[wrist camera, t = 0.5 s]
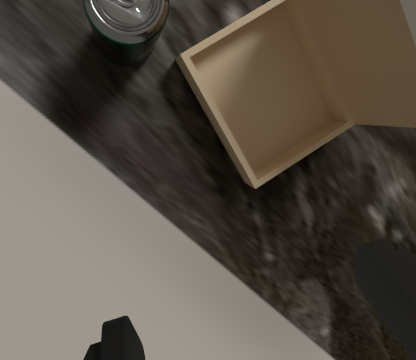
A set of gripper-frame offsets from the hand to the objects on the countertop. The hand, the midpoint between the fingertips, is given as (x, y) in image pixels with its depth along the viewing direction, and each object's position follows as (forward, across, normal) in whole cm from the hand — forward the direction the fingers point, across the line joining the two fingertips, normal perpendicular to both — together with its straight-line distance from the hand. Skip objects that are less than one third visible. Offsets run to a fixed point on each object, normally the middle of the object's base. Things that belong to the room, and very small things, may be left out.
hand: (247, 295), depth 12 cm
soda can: (+27, +2, -5) cm, 27 cm away
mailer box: (+25, -9, +3) cm, 27 cm away
